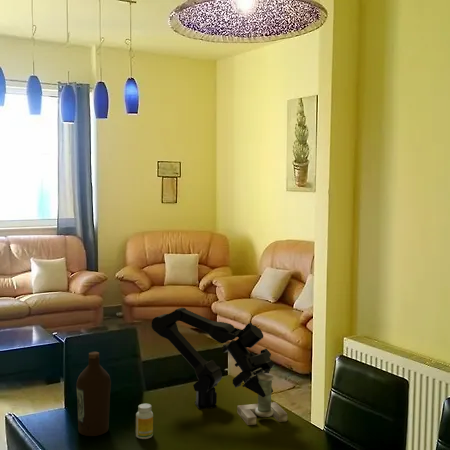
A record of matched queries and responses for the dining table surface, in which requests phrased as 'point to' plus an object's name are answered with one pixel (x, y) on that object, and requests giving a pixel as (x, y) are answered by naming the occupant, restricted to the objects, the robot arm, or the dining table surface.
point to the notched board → (250, 417)
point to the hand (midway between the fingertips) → (268, 394)
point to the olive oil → (93, 398)
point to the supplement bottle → (144, 422)
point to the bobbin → (265, 402)
